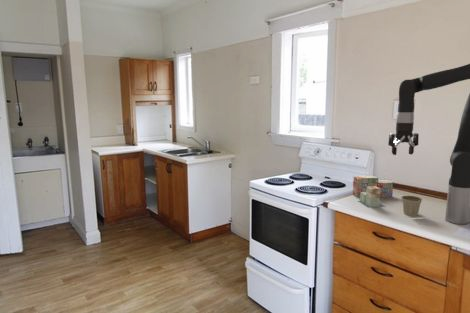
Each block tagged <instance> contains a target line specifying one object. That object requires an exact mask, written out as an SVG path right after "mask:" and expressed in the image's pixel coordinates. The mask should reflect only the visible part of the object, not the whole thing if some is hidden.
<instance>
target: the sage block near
mask: <svg viewBox="0 0 470 313" xmlns="http://www.w3.org/2000/svg"><path fill="white" fill-rule="evenodd" d="M380 198H381V197H380ZM380 198H370V197H368V196H366V205H368V206H369V207H371V208H380V207H379V203H381V202H380Z"/></svg>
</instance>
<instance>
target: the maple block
mask: <svg viewBox="0 0 470 313" xmlns="http://www.w3.org/2000/svg"><path fill="white" fill-rule="evenodd" d="M366 196H368V197H370V198H381V197H380V188H378V187H376V186H367V190H366Z"/></svg>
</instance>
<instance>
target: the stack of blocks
mask: <svg viewBox="0 0 470 313" xmlns="http://www.w3.org/2000/svg"><path fill="white" fill-rule="evenodd" d="M352 183H353V184H352V195H353V196H354V197H356V198H360V192H366V190H367V186H376V187H378V188H380V198H388V197H389V198H390V197H391V198H393V193H394V182H393V181H391V180H389V179H379V177H377V176H375V175H353V181H352Z"/></svg>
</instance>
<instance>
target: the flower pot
mask: <svg viewBox="0 0 470 313" xmlns="http://www.w3.org/2000/svg"><path fill="white" fill-rule="evenodd" d="M400 198H401V201H402V209H403V214H404V215H406V216H411V217H417V216H418V215H419V211H420V206H421V203H422V202H423V198H421V197H419V196H415V195H403V196H401V197H400Z"/></svg>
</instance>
